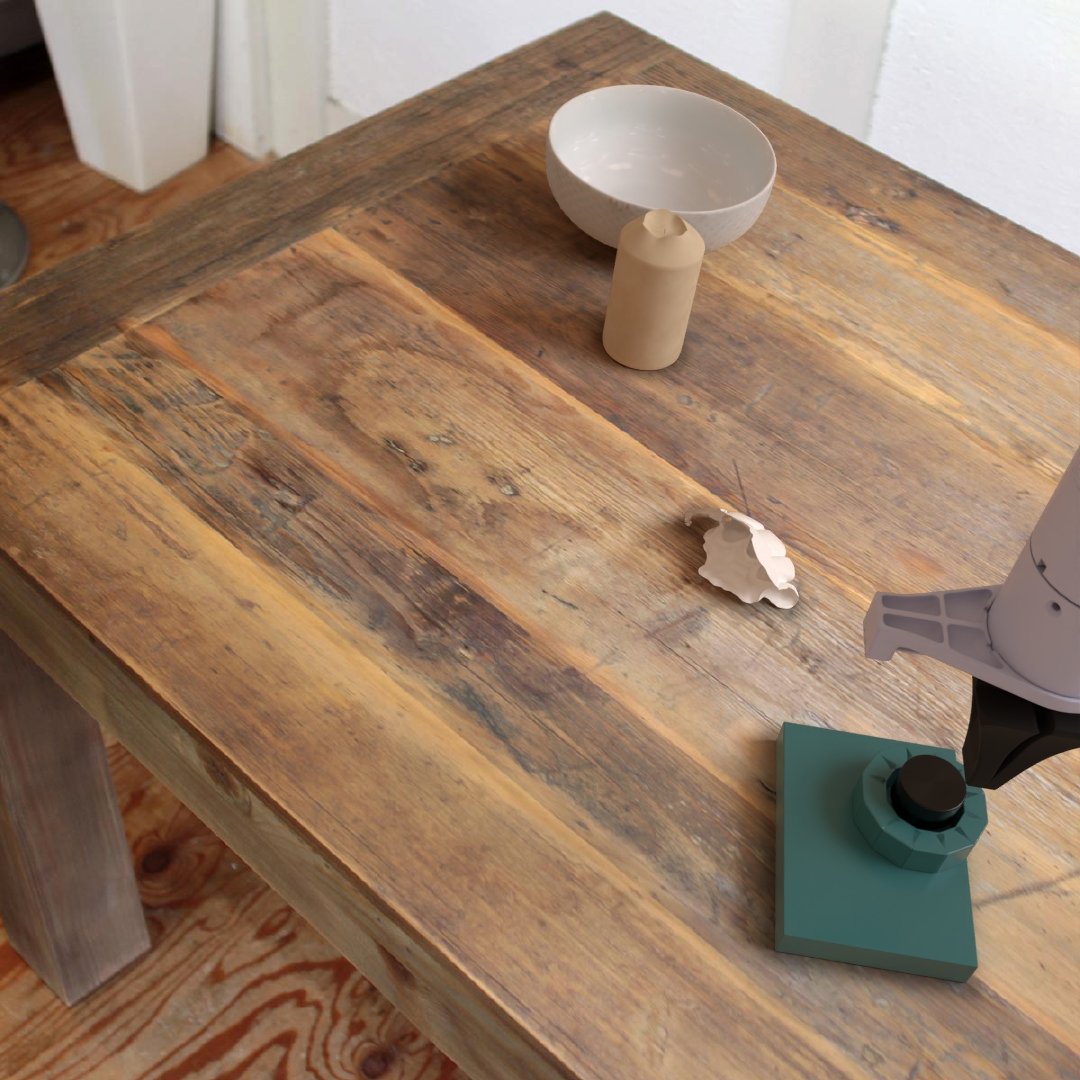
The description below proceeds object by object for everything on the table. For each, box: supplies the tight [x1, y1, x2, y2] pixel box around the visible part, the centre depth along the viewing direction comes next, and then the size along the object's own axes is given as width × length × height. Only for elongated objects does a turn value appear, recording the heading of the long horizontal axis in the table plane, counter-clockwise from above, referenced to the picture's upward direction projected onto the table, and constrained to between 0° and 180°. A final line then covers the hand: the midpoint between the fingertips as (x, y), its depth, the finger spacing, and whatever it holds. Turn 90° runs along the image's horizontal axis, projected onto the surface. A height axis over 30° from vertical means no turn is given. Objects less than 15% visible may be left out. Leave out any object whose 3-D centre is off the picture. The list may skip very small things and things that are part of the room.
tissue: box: [681, 507, 800, 610], centre depth 77 cm, size 6×8×4 cm
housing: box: [774, 721, 989, 984], centre depth 65 cm, size 12×10×4 cm
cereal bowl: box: [544, 84, 778, 255], centre depth 99 cm, size 17×17×7 cm
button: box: [890, 754, 967, 830], centre depth 64 cm, size 3×3×2 cm
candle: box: [602, 209, 705, 371], centre depth 88 cm, size 6×6×10 cm
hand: (979, 769), depth 59 cm, fingers closed
